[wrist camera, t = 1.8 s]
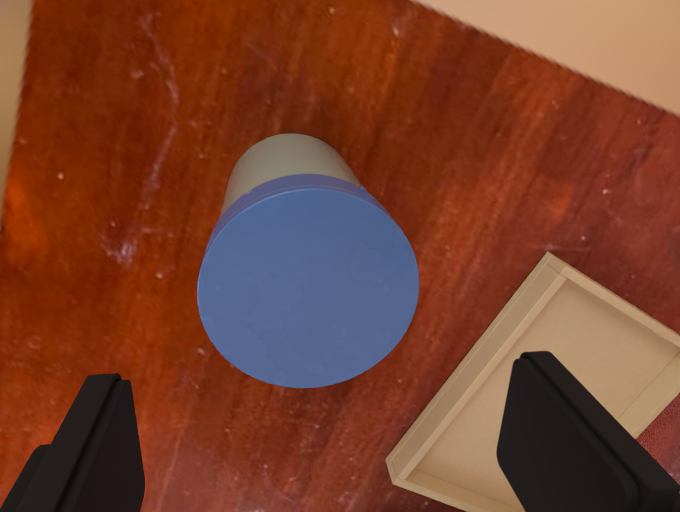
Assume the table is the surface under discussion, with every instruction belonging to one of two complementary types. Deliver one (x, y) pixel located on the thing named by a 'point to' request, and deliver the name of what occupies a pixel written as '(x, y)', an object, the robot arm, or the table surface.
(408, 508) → the table surface
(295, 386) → the lid
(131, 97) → the table surface
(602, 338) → the tray
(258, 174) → the jam jar
